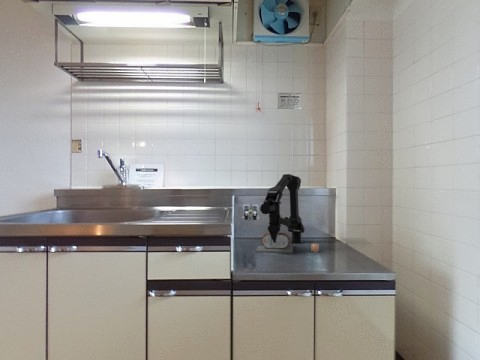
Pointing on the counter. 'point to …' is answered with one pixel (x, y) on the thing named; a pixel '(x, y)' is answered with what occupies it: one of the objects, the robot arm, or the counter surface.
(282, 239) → the tin
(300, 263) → the counter surface
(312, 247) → the small orange block
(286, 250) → the mat
